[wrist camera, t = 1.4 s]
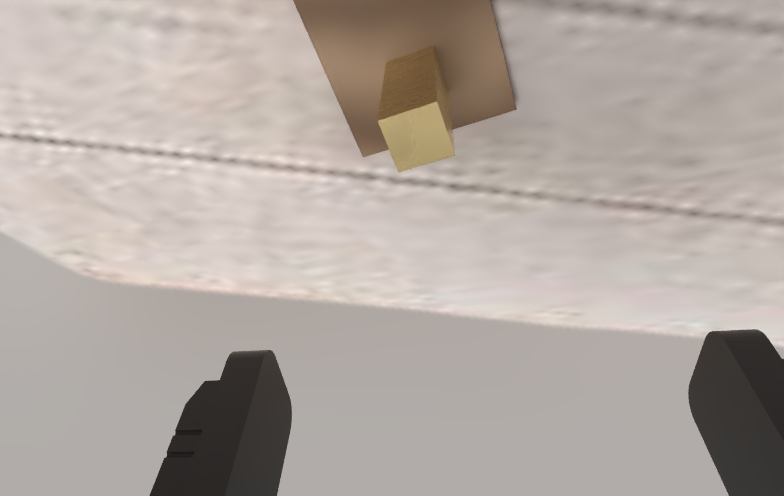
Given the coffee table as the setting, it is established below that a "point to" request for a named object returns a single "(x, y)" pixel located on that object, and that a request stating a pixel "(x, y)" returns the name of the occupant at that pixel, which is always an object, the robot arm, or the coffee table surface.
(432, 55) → the brass post
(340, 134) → the coffee table surface
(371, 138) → the board
